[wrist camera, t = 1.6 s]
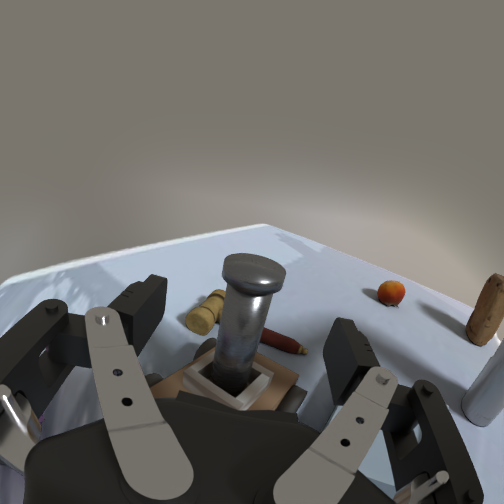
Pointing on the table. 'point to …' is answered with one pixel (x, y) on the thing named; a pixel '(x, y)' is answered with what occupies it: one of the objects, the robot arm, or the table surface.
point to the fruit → (391, 293)
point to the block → (487, 311)
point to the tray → (378, 460)
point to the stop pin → (243, 317)
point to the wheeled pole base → (252, 398)
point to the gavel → (211, 312)
